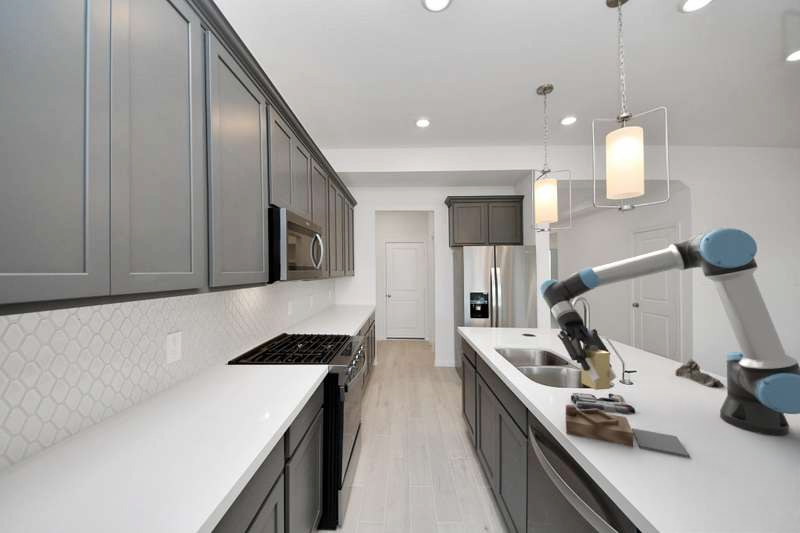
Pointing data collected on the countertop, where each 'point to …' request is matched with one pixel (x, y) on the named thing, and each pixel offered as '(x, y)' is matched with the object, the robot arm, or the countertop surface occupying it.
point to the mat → (660, 443)
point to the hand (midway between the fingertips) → (604, 379)
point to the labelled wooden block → (597, 367)
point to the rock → (697, 374)
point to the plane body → (598, 425)
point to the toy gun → (602, 403)
